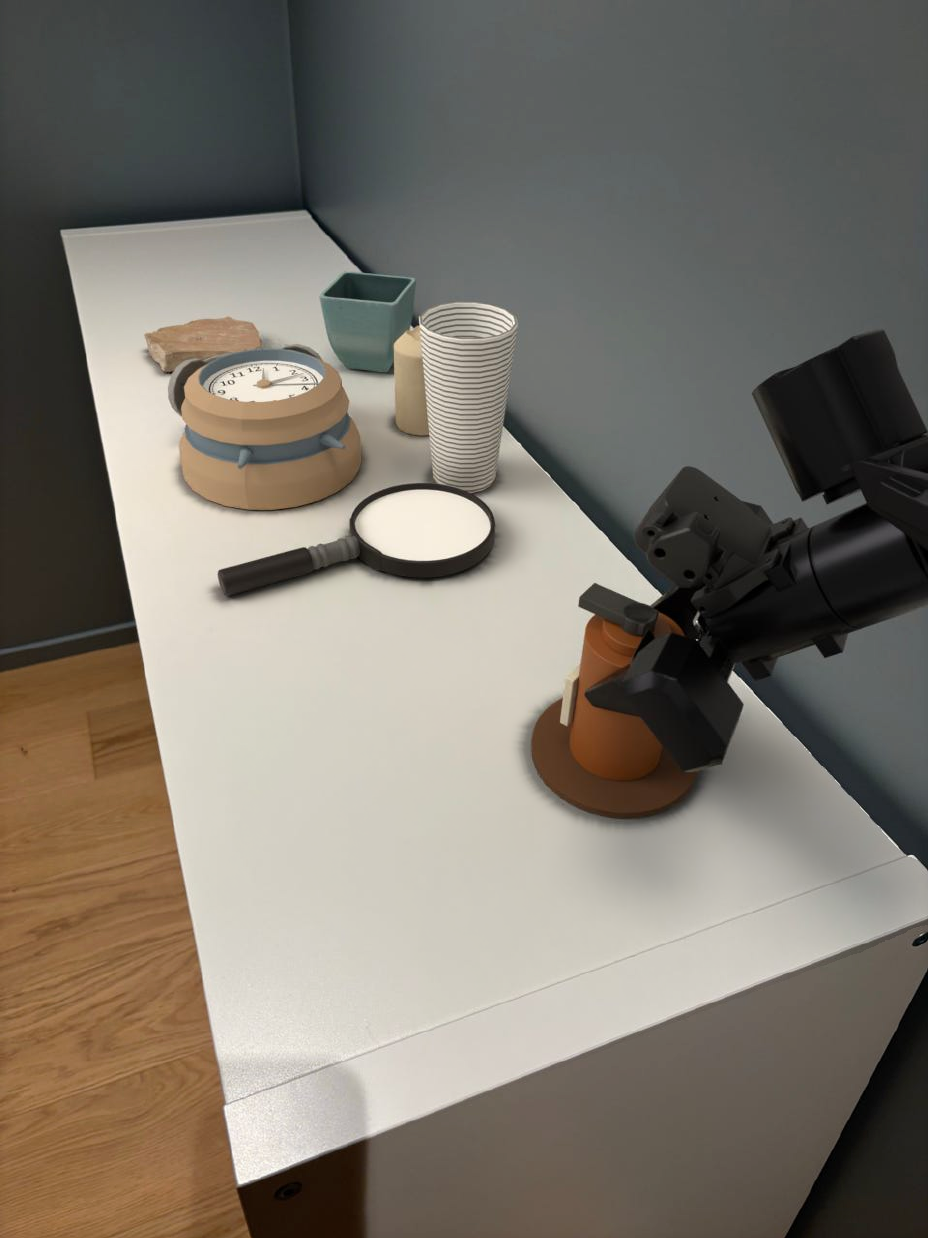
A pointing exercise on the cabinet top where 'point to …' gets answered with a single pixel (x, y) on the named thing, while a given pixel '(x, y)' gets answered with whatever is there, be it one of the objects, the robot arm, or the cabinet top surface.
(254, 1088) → the cabinet top surface
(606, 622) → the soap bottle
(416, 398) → the candle
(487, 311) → the cup
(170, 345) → the stone
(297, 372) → the alarm clock
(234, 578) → the magnifying glass
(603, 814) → the coaster
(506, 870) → the cabinet top surface
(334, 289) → the flower pot
